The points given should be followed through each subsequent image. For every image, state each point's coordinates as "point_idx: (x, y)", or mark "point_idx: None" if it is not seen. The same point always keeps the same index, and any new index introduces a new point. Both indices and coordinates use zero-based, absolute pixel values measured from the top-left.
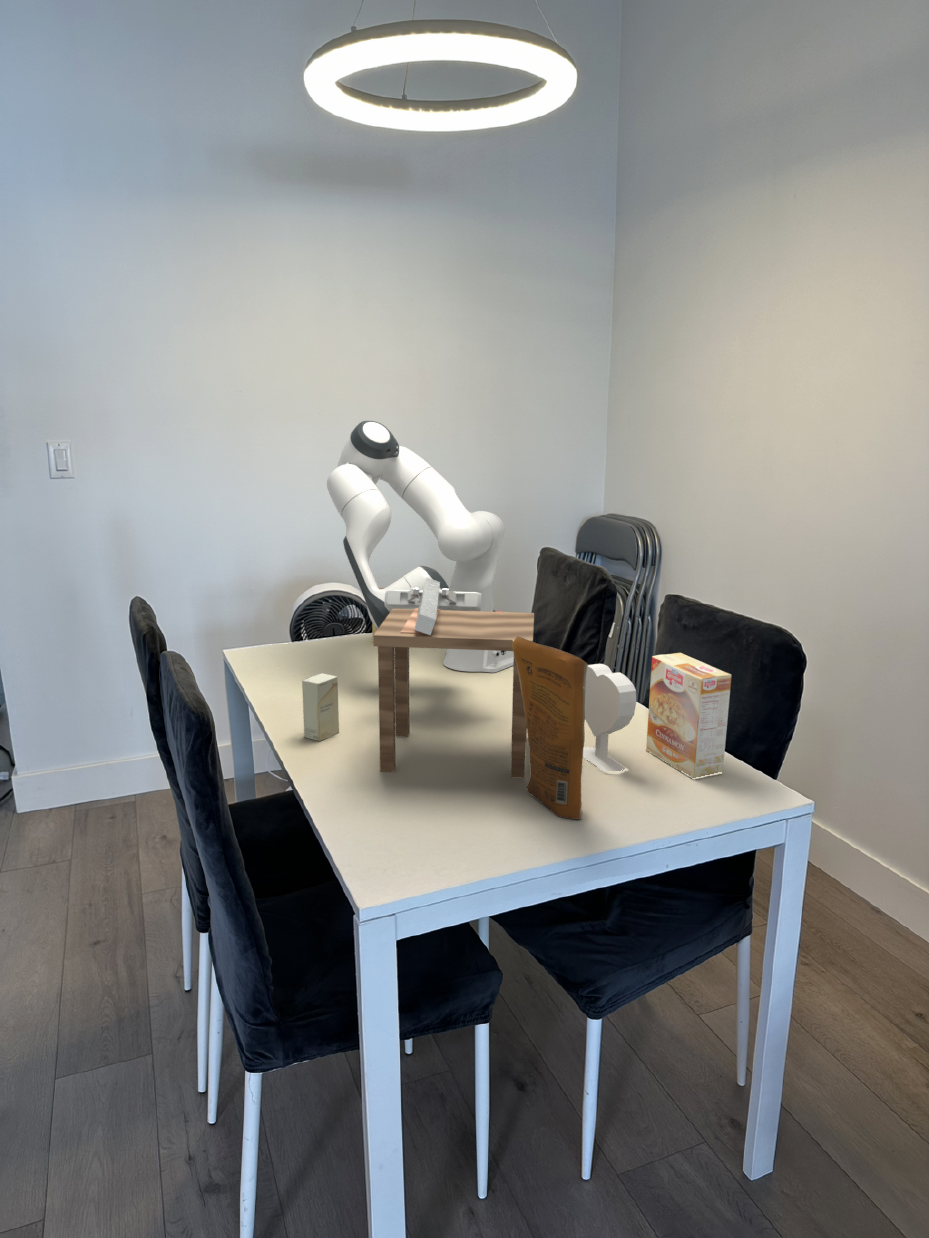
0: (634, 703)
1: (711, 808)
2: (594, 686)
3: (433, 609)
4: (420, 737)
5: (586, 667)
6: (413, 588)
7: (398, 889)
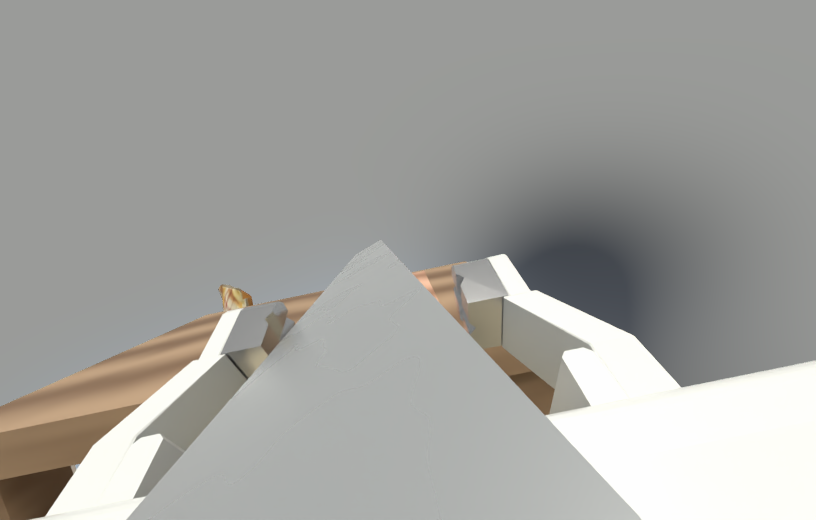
0: None
1: None
2: None
3: (357, 256)
4: None
5: (220, 292)
6: (485, 261)
7: None
